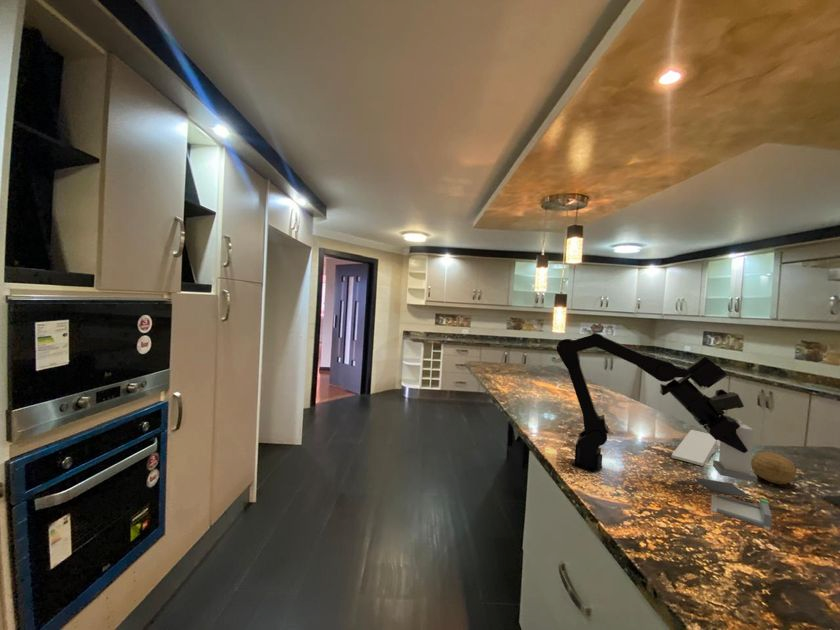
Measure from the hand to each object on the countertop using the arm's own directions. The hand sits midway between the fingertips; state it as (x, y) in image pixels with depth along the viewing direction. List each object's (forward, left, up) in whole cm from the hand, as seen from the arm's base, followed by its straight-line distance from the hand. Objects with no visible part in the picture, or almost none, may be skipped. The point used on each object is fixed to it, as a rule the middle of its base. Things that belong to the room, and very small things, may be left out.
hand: (742, 448), depth 91 cm
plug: (-1, -1, -7) cm, 7 cm away
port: (+1, -7, -13) cm, 15 cm away
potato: (+3, +26, -14) cm, 30 cm away
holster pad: (-5, +5, -13) cm, 15 cm away
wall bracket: (-17, +32, -14) cm, 39 cm away
